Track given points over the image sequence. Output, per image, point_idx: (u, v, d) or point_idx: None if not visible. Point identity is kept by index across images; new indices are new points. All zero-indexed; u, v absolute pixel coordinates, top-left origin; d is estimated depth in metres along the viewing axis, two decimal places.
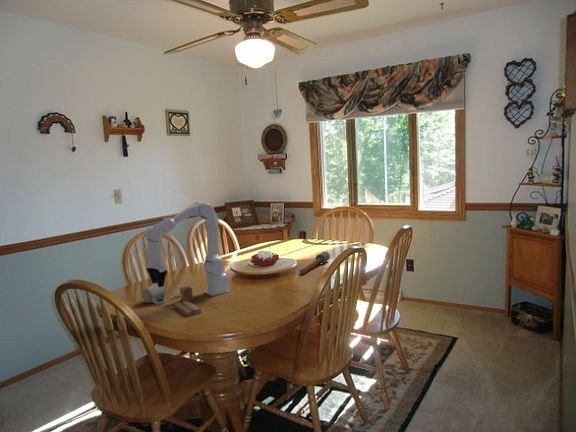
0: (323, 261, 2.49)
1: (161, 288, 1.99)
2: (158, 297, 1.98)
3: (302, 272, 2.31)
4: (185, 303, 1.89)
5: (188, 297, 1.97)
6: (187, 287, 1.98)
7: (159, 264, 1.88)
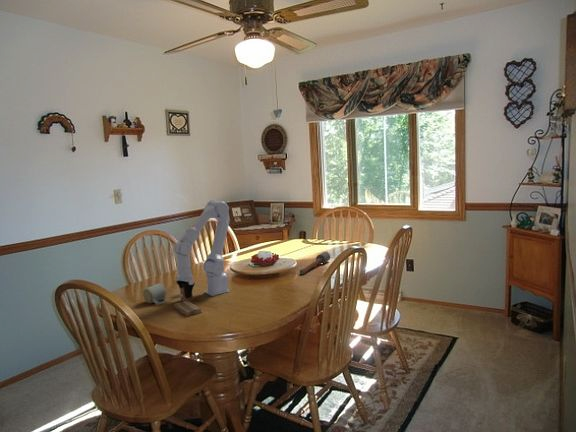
0: (323, 261, 2.49)
1: (161, 288, 1.99)
2: (159, 297, 1.97)
3: (302, 272, 2.31)
4: (185, 303, 1.89)
5: None
6: None
7: (188, 277, 1.95)
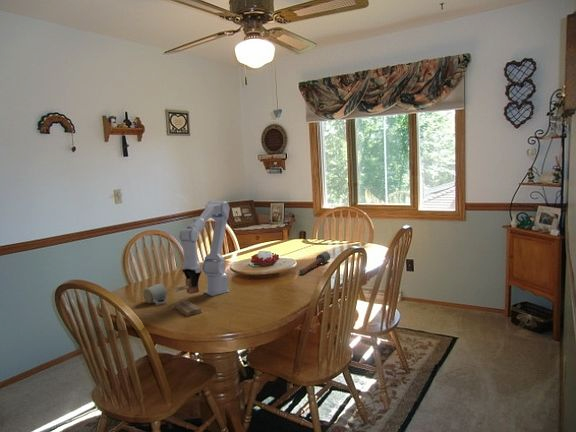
0: (323, 261, 2.49)
1: (162, 288, 1.98)
2: (159, 297, 1.97)
3: (302, 272, 2.31)
4: (185, 303, 1.89)
5: (194, 289, 1.90)
6: None
7: (195, 265, 1.89)
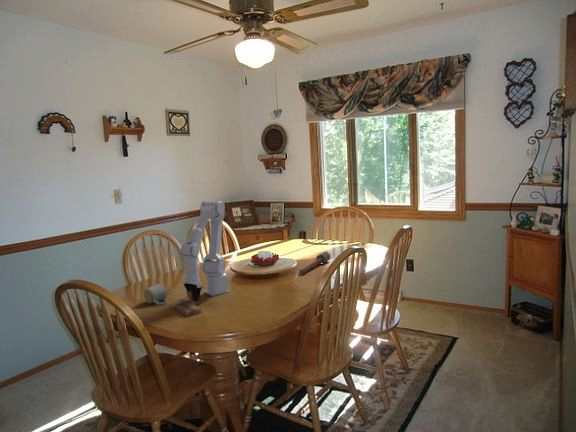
0: (323, 261, 2.49)
1: (162, 288, 1.98)
2: (159, 298, 1.97)
3: (302, 272, 2.31)
4: (185, 303, 1.89)
5: None
6: None
7: (196, 279, 1.90)
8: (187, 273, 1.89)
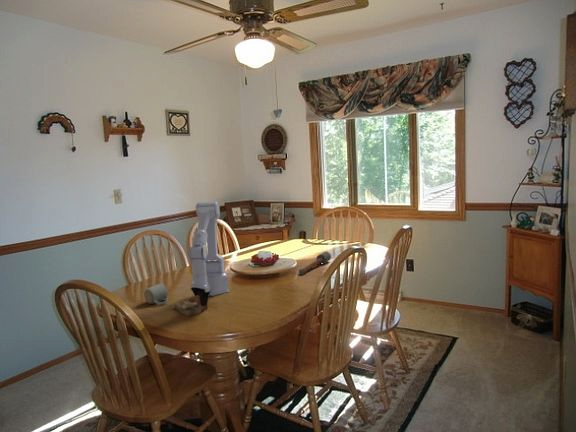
0: (324, 261, 2.49)
1: (162, 288, 1.98)
2: (160, 298, 1.97)
3: (301, 272, 2.31)
4: (185, 303, 1.89)
5: (202, 306, 1.85)
6: None
7: (204, 283, 1.83)
8: (195, 277, 1.82)
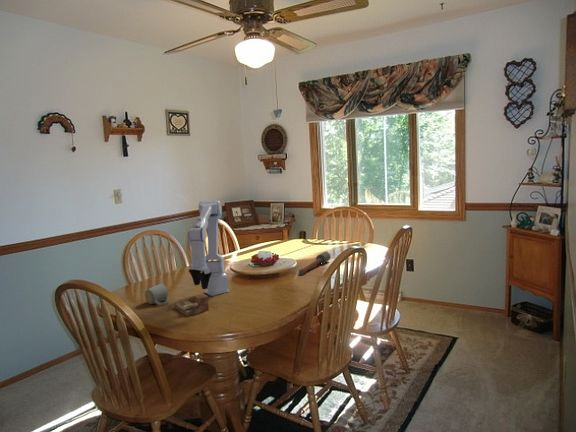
0: (323, 261, 2.49)
1: (163, 288, 1.98)
2: (160, 298, 1.96)
3: (301, 272, 2.31)
4: (185, 303, 1.89)
5: (203, 306, 1.84)
6: (203, 295, 1.86)
7: (203, 265, 1.82)
8: (194, 259, 1.81)
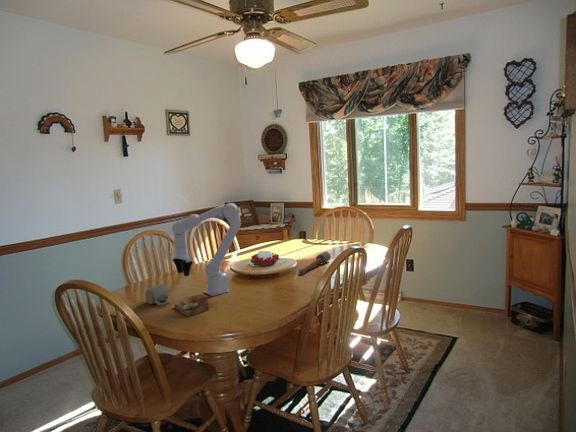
0: (323, 261, 2.49)
1: (163, 289, 1.97)
2: (161, 298, 1.96)
3: (301, 272, 2.31)
4: (185, 303, 1.89)
5: (203, 306, 1.84)
6: (203, 295, 1.86)
7: (185, 255, 2.03)
8: (177, 249, 2.02)
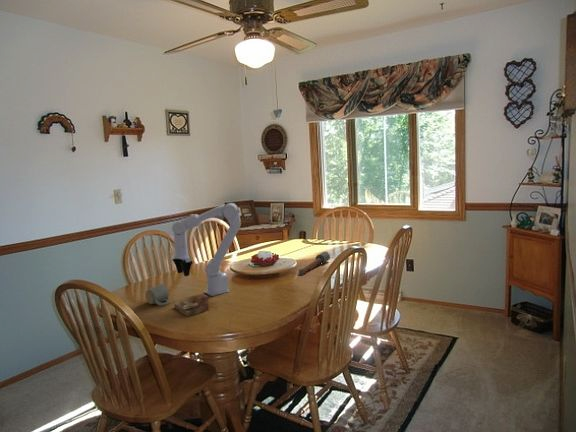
0: (323, 261, 2.49)
1: (164, 289, 1.97)
2: (161, 298, 1.96)
3: (301, 272, 2.31)
4: (185, 303, 1.89)
5: (203, 306, 1.84)
6: (203, 295, 1.86)
7: (185, 255, 2.03)
8: (177, 249, 2.02)
